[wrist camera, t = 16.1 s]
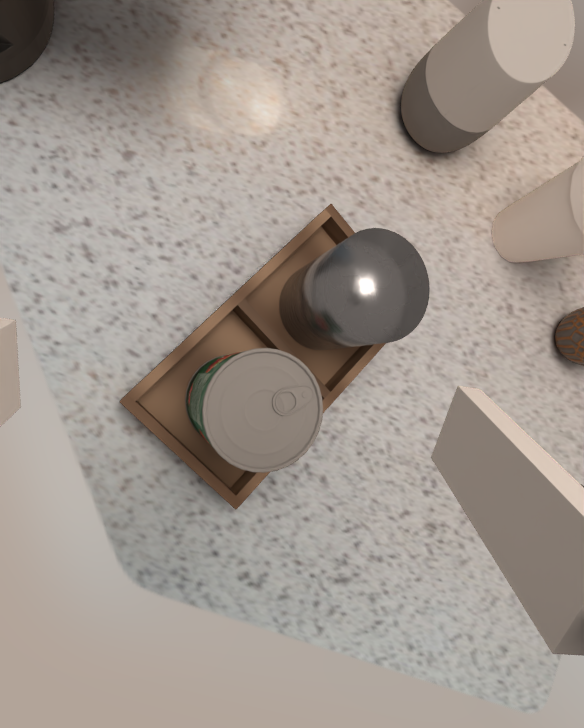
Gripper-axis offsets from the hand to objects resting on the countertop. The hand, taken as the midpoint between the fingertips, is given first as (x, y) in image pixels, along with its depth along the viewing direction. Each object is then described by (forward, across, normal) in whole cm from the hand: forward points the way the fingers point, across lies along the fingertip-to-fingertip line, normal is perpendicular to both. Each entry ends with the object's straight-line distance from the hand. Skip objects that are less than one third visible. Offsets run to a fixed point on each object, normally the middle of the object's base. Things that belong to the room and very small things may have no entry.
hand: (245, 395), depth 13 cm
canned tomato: (+22, 0, -12) cm, 25 cm away
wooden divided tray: (+26, +3, -8) cm, 27 cm away
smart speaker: (+40, +16, +15) cm, 46 cm away
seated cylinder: (+28, +7, -4) cm, 29 cm away
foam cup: (+38, +29, +6) cm, 48 cm away
